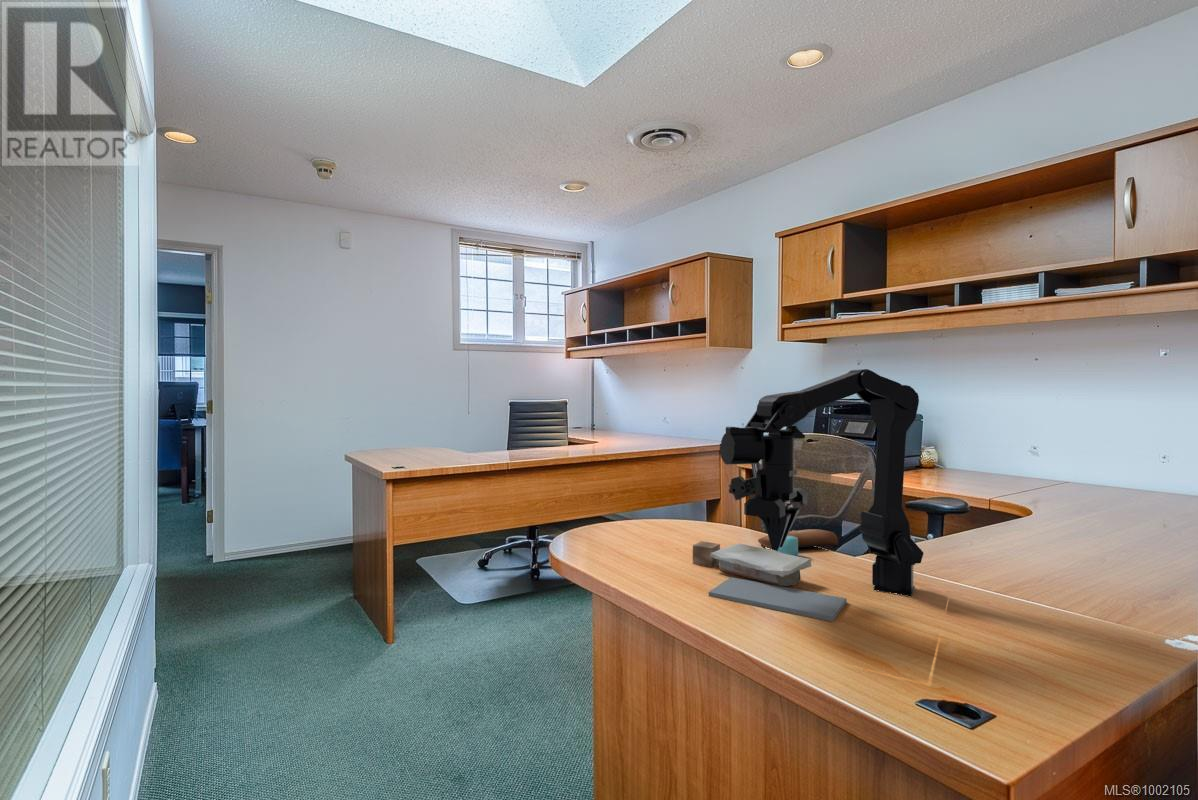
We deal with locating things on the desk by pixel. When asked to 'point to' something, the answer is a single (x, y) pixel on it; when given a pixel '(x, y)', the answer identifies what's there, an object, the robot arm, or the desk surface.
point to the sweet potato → (808, 538)
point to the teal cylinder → (790, 546)
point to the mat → (780, 598)
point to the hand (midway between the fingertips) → (777, 548)
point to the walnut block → (704, 553)
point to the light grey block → (761, 564)
